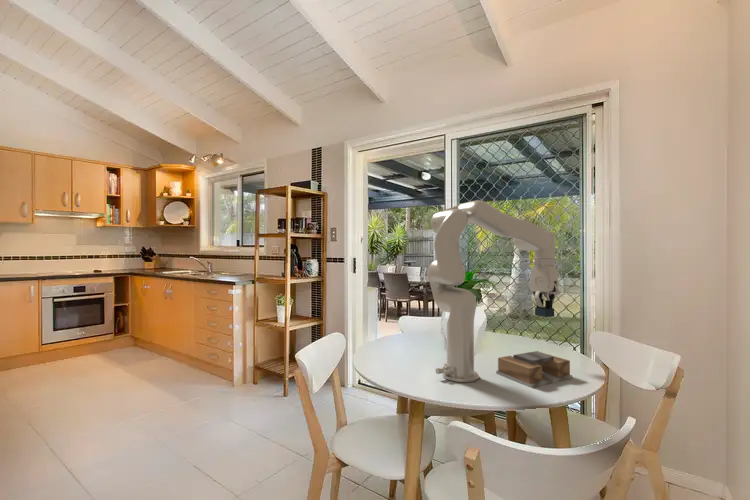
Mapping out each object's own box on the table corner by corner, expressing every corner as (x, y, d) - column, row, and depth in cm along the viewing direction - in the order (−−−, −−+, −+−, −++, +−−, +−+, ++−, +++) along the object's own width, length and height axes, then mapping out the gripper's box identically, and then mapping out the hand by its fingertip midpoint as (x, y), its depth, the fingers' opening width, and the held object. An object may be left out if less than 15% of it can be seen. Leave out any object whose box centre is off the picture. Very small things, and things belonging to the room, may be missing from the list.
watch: (558, 316, 145) (557, 288, 146) (541, 317, 143) (541, 288, 143) (547, 314, 151) (546, 287, 151) (531, 315, 148) (530, 287, 148)
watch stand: (531, 387, 122) (531, 365, 122) (496, 373, 136) (496, 353, 136) (572, 378, 130) (572, 357, 131) (535, 365, 145) (535, 347, 145)
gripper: (521, 262, 153) (520, 307, 152) (556, 264, 138) (556, 313, 138) (534, 262, 156) (533, 306, 156) (569, 263, 141) (569, 312, 141)
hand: (544, 309), depth 147 cm, fingers closed on watch, 3 cm apart
